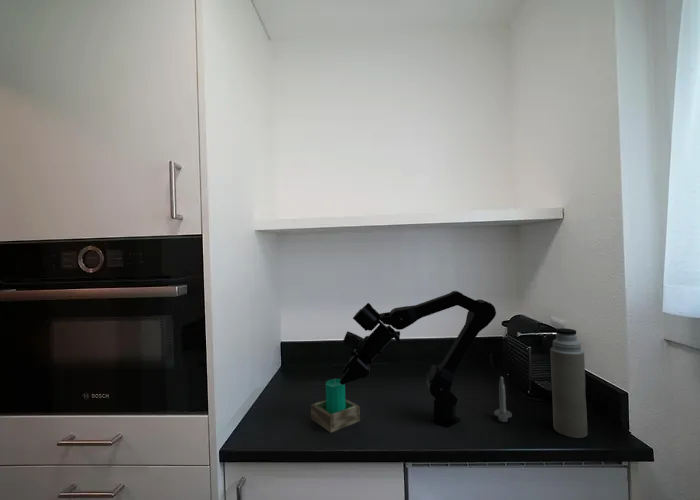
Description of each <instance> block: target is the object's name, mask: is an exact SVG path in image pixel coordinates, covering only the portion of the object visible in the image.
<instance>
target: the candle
mask: <svg viewBox="0 0 700 500" xmlns="http://www.w3.org/2000/svg"><path fill="white" fill-rule="evenodd" d="M341 379H342V378H333V379H329V380H327V381H325V400H326V411H327V412H329V413H330V414H333V413H336V412H339V411H342V410H344V409H346V403H345V399H346V384H343V385H342V384H340V381H341Z"/></svg>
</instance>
